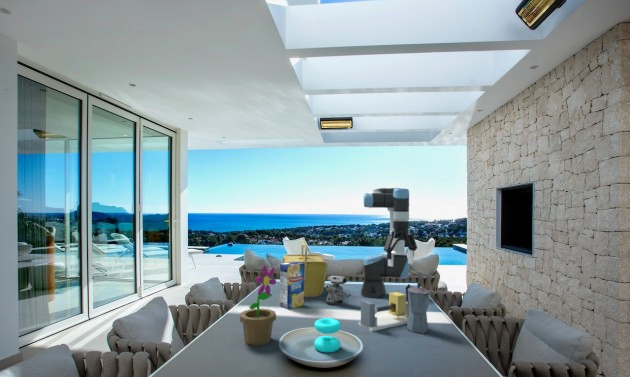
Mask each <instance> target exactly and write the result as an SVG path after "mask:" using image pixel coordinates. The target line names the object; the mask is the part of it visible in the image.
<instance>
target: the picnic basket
mask: <svg viewBox="0 0 630 377" xmlns="http://www.w3.org/2000/svg"><path fill="white" fill-rule="evenodd" d="M300 246H301V247H300V248H301V249H300V250H301V254H284V255H283V257H282V259H281V261H282V264H283V263H291V262H300V263H304V298H306V297H307V298H308V297H310V298H311V297H313V298H314V297H319V296H321V295H322V294H323V292H324V289H325V283H326V279H327V274H328V268H329V267H328V266H329V265H328V263H327V262H326V260H324V258H323V256H322V255H320V254H316V253H315V254H314V253H313V254H308V245H307V243H306V242H305V241H304V239H302V240H301V245H300Z"/></svg>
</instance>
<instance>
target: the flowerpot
mask: <svg viewBox="0 0 630 377" xmlns="http://www.w3.org/2000/svg"><path fill="white" fill-rule="evenodd" d="M261 273H262V276H257V277H255V281H256V283H258V284H259V283H260V285H259V287H258V290H257V291H258V292H257V299H256V302H253V303H251V304H250V306H249V309H248V310H243V311H242V312H240V313H239V322H240V323H242V324H243V325H242V328H243V336H244V343H245V344H247V345H251V346H263V345H265V344H266V345H267V344H268V343H270V342H271V340H272V332H273V326H274V324H273V323H274V321H276V320H277V313H276V311H274V310H272V309H269V308H260V300H262V301H265V300H268V299H269V298H271V297H272V296H273V294H272V293H271V286H270V285H273V286H274V285H275V284H276V283H277V279H275V278H272V276H273V274H274V273H275V267H274V266H273V267H271V268H269V270H268V268H267V266H266V265H263V266H262V270H261Z"/></svg>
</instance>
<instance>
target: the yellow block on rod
mask: <svg viewBox="0 0 630 377" xmlns="http://www.w3.org/2000/svg"><path fill="white" fill-rule="evenodd" d="M406 302H407V295H406V293H405V294H404V293H403V292H402V293H401V292H397V291H395V292H389V293H388V305H393V304H396V309H391V310H388V314H390V315H391V316H392V315H394V316H397V317H399V316H404V315H406Z"/></svg>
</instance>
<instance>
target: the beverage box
mask: <svg viewBox="0 0 630 377" xmlns="http://www.w3.org/2000/svg"><path fill="white" fill-rule="evenodd" d="M279 271H280V272H279V307H281V308H283V309H286V310H289V309H294V308H298V307H303V306H304V305H305V303H304V302H305V297H304V263H300V262H291V263H283V262H282V263H280V267H279Z"/></svg>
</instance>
